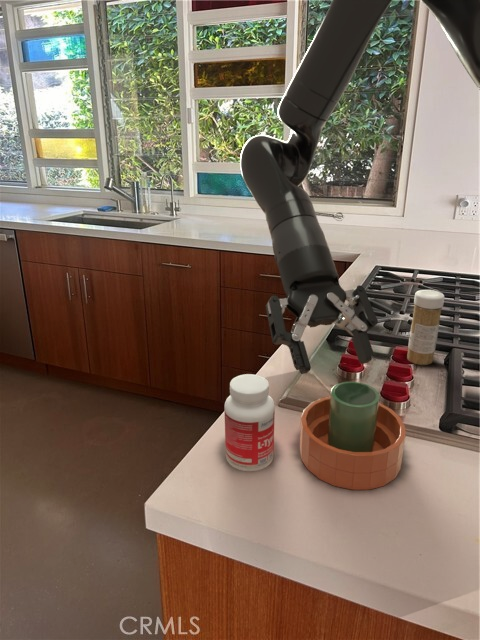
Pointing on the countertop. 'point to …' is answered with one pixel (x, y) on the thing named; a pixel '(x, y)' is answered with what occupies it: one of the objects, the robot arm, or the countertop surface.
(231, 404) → the pill bottle
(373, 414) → the green cup
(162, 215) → the countertop surface
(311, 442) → the terracotta bowl
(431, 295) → the sprinkles bottle
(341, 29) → the robot arm
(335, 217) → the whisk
